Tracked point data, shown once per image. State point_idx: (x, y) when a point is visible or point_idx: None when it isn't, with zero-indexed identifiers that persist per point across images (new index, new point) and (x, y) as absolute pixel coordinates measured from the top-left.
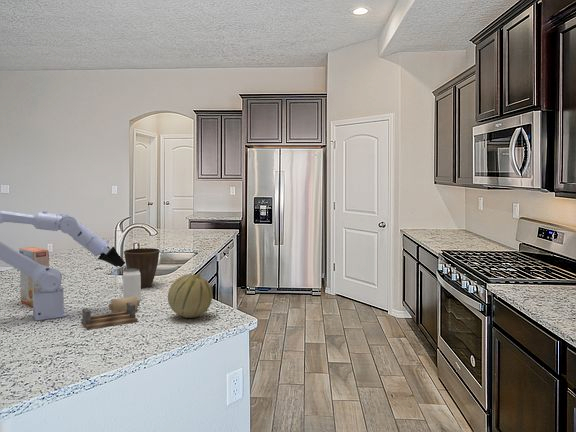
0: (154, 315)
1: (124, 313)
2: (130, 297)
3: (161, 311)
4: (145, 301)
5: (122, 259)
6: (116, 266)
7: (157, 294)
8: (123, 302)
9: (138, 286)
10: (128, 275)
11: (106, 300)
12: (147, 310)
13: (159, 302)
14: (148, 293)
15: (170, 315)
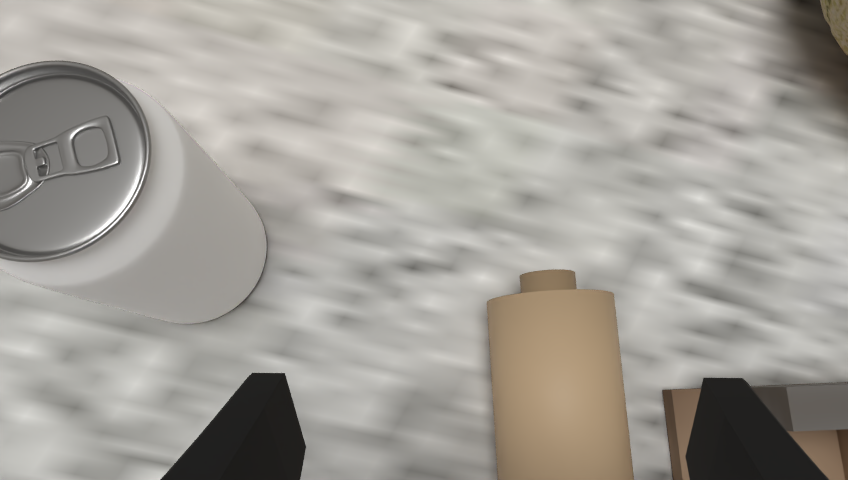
0: (759, 223)
1: None
2: (572, 340)
3: (667, 148)
4: (290, 167)
5: (796, 443)
6: (302, 457)
7: (107, 22)
8: (623, 422)
9: (219, 170)
10: (159, 239)
11: (52, 453)
12: (589, 229)
13: (385, 84)
14: None
15: (807, 126)
